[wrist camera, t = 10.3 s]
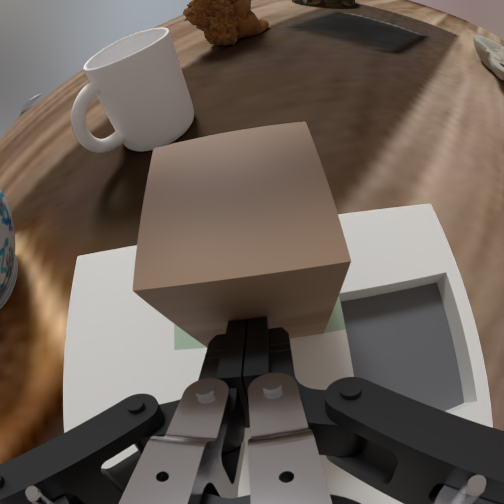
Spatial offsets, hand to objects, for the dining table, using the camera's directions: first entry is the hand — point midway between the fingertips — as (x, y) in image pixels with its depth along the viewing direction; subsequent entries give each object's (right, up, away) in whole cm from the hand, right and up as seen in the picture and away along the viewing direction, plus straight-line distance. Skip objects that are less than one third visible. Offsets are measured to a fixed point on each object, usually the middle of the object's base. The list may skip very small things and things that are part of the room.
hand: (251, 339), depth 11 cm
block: (0, +1, +5) cm, 5 cm away
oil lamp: (+45, +35, +19) cm, 60 cm away
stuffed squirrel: (-4, +39, +29) cm, 49 cm away
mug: (-11, +15, +17) cm, 25 cm away
